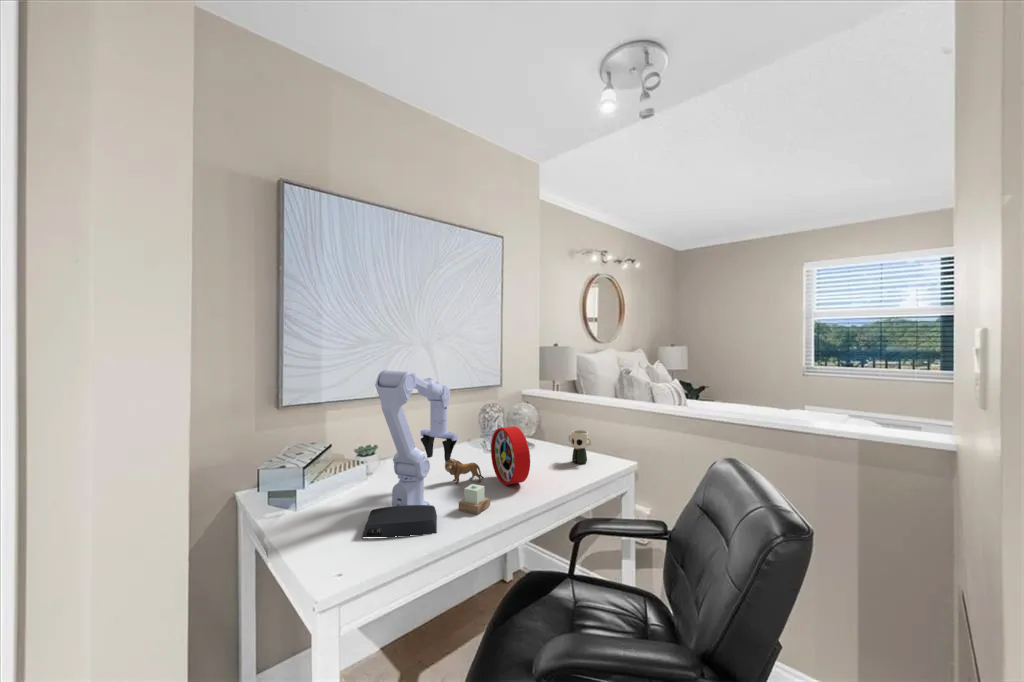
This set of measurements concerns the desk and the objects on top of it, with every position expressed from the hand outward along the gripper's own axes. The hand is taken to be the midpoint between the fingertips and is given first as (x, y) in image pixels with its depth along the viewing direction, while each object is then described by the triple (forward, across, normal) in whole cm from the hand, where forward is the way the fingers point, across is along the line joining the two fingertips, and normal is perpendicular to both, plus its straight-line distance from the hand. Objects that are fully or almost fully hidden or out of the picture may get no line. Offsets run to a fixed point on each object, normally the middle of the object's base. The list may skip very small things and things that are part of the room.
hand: (438, 458), depth 144 cm
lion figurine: (+11, -4, -10) cm, 15 cm away
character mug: (+11, -34, -52) cm, 63 cm away
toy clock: (+11, -19, -17) cm, 28 cm away
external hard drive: (+11, -8, +28) cm, 31 cm away
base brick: (+10, -20, +8) cm, 24 cm away
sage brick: (+8, -20, +8) cm, 23 cm away
